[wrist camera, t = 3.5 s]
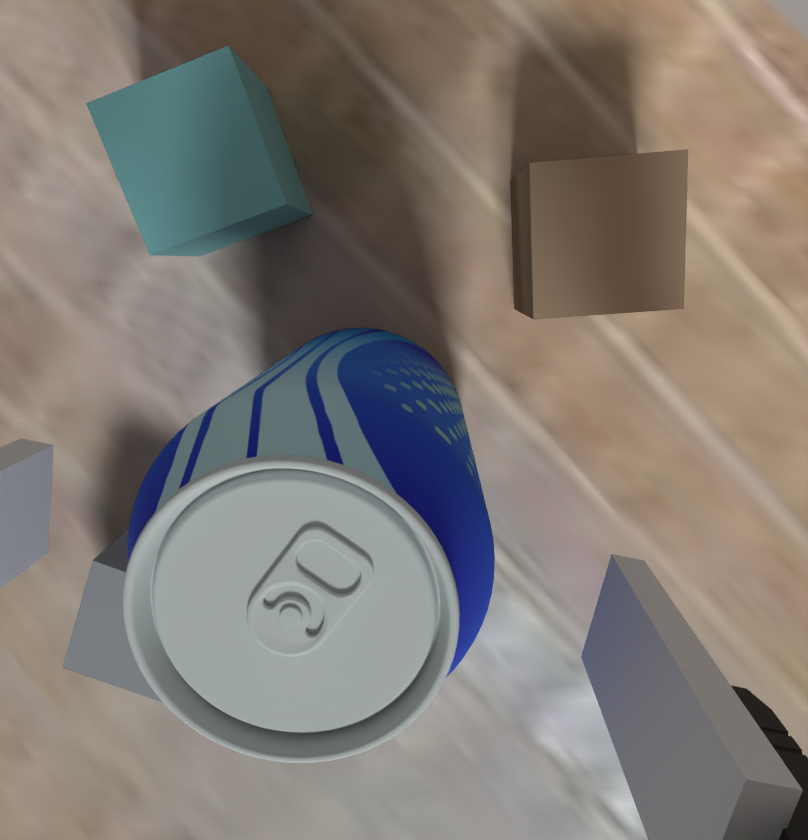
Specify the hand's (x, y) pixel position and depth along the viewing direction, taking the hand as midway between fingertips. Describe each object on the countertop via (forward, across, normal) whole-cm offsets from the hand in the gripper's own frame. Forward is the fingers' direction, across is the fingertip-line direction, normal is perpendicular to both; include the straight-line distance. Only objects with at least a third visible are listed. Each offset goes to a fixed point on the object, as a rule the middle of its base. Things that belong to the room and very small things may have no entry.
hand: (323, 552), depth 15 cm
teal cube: (+14, -7, +9) cm, 18 cm away
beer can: (+14, 0, 0) cm, 14 cm away
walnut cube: (+14, +7, +9) cm, 17 cm away
